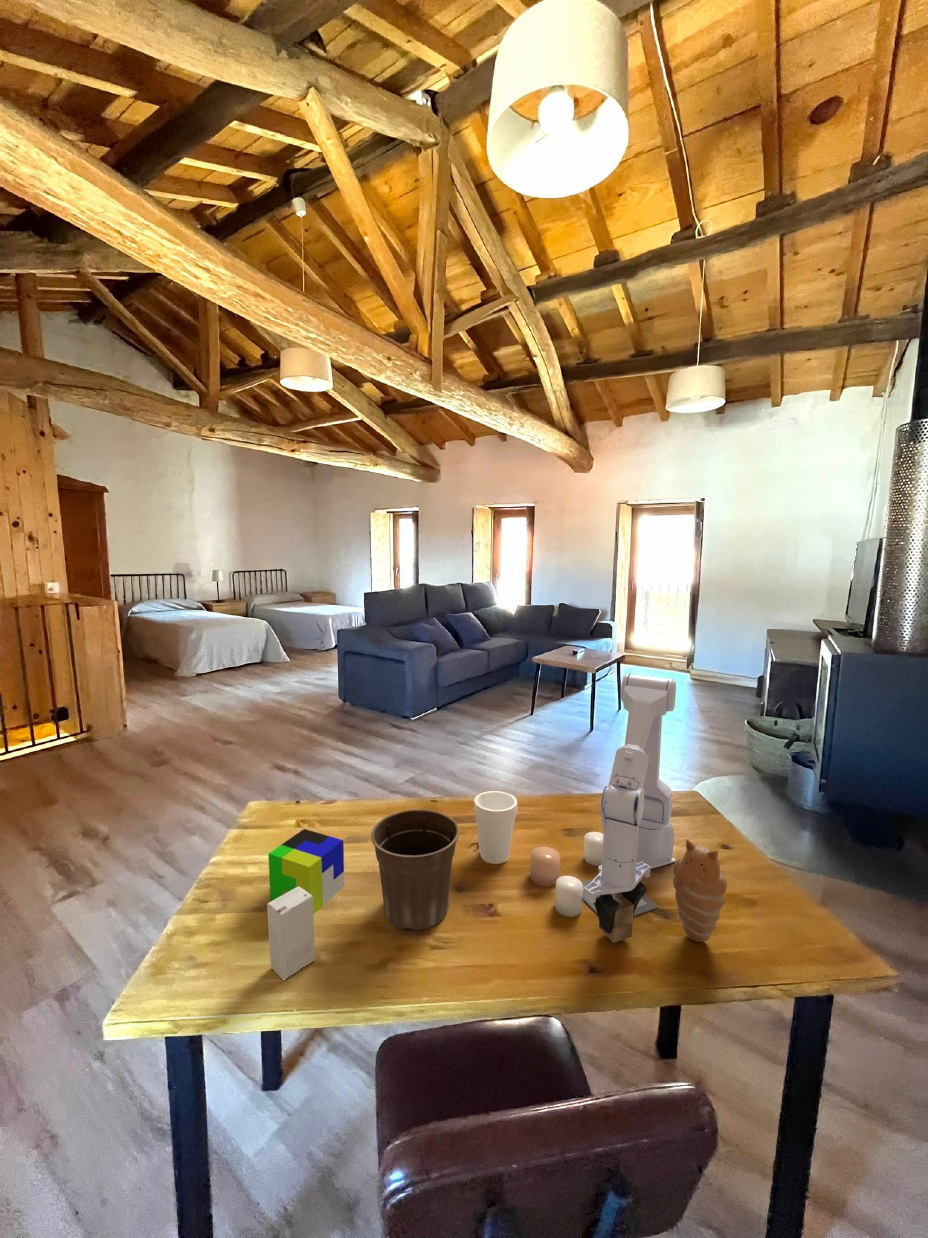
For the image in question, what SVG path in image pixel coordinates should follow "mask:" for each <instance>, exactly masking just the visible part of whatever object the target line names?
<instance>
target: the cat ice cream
mask: <svg viewBox="0 0 928 1238" xmlns="http://www.w3.org/2000/svg"><path fill="white" fill-rule="evenodd" d="M685 847H686V848H685V849H686V851H685V852H684V854H683V856H682V857H679V858H678V859H677V860H675V862H673V866H672V873H673V874H674V877H673V879H672V880H673V882H672V883H673V887H674V890H675V894H674V895H675V896H674V897H675V900H676V904H677V911H678V912H677V913H678V917H679V918H680V920H681V927H682V930H683V931H684V933H685V934H686V935H687V936H688V938H689V939H691V940H692V941H694V942H697V943H705V942H707V941H708V940H709V939H710V938H711V936H712V932H714V931H715V929H716V927H717V922H718V921H719V919H720V915H721V914H720V913H721V909H722V908H723V907H724V906H725V903H726V897H725V893H726V892H727V889H728V882H727V878H726V877H725V876H724V873H723V872H722V870H721V863H720V861H719V857H718V856H719V851H718V850H712V849H711V848H710V847H707V846H705V845H702V844H694V843H692V842H691V841H690V840H689V839H686V840H685Z"/></svg>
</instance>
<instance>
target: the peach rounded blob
mask: <svg viewBox="0 0 928 1238" xmlns="http://www.w3.org/2000/svg"><path fill="white" fill-rule="evenodd" d="M560 866H561V854H560V852H558V850H557V849H555V848H551V847H548V846H538V847H535V848H533V849H532V850H531V853H530V866H529V869H530V870H529V878H530V880H531V881H532V882H533V883H535V884H536V885H538V886H542V887H550V886H552V887H553V886H554V885H555V886H556V880H557V879H558V878H559V877H560V869H561V867H560Z"/></svg>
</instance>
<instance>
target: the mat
mask: <svg viewBox="0 0 928 1238" xmlns="http://www.w3.org/2000/svg"><path fill="white" fill-rule="evenodd" d="M593 880H594V878H592V879H589V880H585V881H581V882H582V884H583V892H582V901H584V903H586V905H587V906H589V907H590V909H591V910H592V911H593V912H595V913H596V914H597V911H596V908H595V905H594V903H593V904H591V903H590V902H588V901H587V900H586V899H585V898H584V897H583V896H584V887H586V886H587V885H589V884H590V883H591V882H592V881H593ZM659 908H660V906H659V905H658V904H656V903H655V902H654V901H653V900H652V899H651V898H650V897H648V896H647V895H646V894H644V895H643V896H642V898H641V899H640V901H639V903H638V905H637V907H636V910H635V913H634V915H633V918H635V917H637V916H639V915H642V914H645V913H648V912H651V911H654V910H657V909H659Z"/></svg>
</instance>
